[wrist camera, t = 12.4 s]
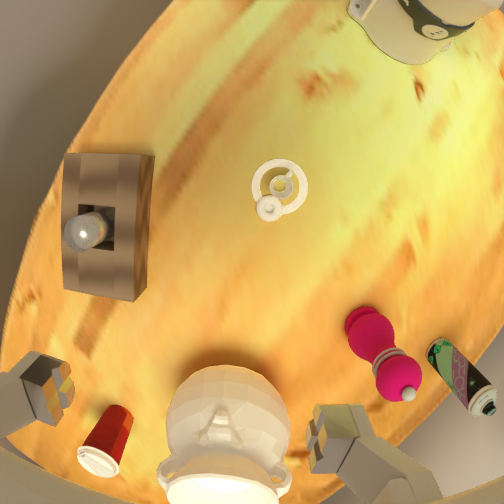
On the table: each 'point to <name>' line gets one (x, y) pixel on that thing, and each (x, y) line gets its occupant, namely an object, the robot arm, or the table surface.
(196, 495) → the pitcher
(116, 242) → the socket block
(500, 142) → the table surface
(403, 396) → the pepper mill
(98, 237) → the pin
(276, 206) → the teacup and saucer
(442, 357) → the spray can
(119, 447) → the coffee cup
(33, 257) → the table surface
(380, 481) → the robot arm
